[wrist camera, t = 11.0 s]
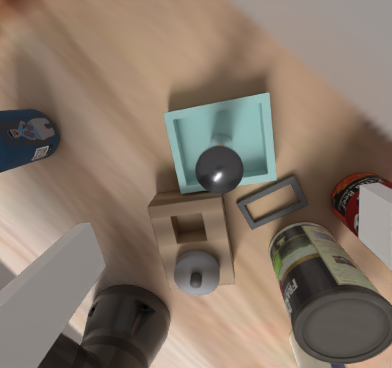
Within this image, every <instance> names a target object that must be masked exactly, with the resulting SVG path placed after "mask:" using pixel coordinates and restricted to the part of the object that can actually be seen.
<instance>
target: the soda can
mask: <svg viewBox="0 0 392 368" xmlns="http://www.w3.org/2000/svg"><path fill="white" fill-rule="evenodd" d="M58 142H59V132H58V129H57V127H56V125H55V124H54V123H53V121H52V120H51V119H49V118H48V117H47V116H46V115H44V114H43V113H41V112H39V111H36V110H31V109H26V110H7V111H0V173H1V172H4V171H7V170H10V169H13V168H16V167H19V166H22V165H25V164H28V163H31V162H34V161H37V160H40V159H43V158H46V157H48V156H50V155H52V154H53V153H54V152H55V150H56V148H57V146H58Z"/></svg>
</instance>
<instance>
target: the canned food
mask: <svg viewBox="0 0 392 368" xmlns="http://www.w3.org/2000/svg"><path fill="white" fill-rule="evenodd" d="M371 183H380V184H382V185H384V186H386V187H388V188H390V189H392V182H390V181H388V180H386V179H383V178H381V177H379V176H377V175H374V174H370V173H358V174H353V175H350V176H348V177H346V178H344V179H343V180H342V181H340V182H339V184H338V185H337V186H336V187H335V189H334V191H333V193H332V198H331V204H332V207H333V211H334V213H335V214H336V216H337V217H338V218H339V219H340V220H341V221H342V222H343V223H344V224H345V225H346V226H347V227H348V228H349V229H350V230H351V231H352V232H353V233H354V234H355V235H356V236H357V237H358V231H359V194H360V185H364V184H371ZM367 248H368V247H367ZM368 249H369V248H368ZM369 250H370V249H369ZM370 251H371V250H370ZM371 252H372V251H371ZM372 253H373V252H372ZM373 254H374V253H373Z"/></svg>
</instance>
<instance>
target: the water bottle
mask: <svg viewBox="0 0 392 368" xmlns="http://www.w3.org/2000/svg"><path fill="white" fill-rule="evenodd" d="M289 340H290V344H291V346H292V349H293V352H294V355H295V358H296V361H297V363H298V367H299V368H347V366H346V364H332V363H327V362H323V361H320V360H317V359H315V358H313V357H311V356H309V355H308V354H306V353H305V352H304V351H303V350H302V349H301V348H300V347H299V345H298V344H297V342H296V340H295V337H294V333H293V330H292V332H291V333H290V336H289Z"/></svg>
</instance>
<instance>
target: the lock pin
mask: <svg viewBox="0 0 392 368" xmlns="http://www.w3.org/2000/svg"><path fill="white" fill-rule="evenodd" d="M243 173H244V168H243V163H242V160H241V158H240V156H239V154H238V153H237V152H236V151H235V150H233V146H232V141H231V139H230V137H229V136H227V135H226V134H217V135H215V136H214V137H213V138H212V139H211V142H210V146H209V148H208V149H206V150H205V151H203V152H202V154H201V155H200V156H199V158H198V161H197V163H196V167H195V174H196V178H197V180H198V182H199V184H200V185H201V186H202V187H203V188H204V189H206V190H207V191H209V192H212V193H218V194H221V193H227V192H229V191H232V190H233V189H235V188H236V187H237V186H238V185H239V183H240V182H241V180H242V178H243Z"/></svg>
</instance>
